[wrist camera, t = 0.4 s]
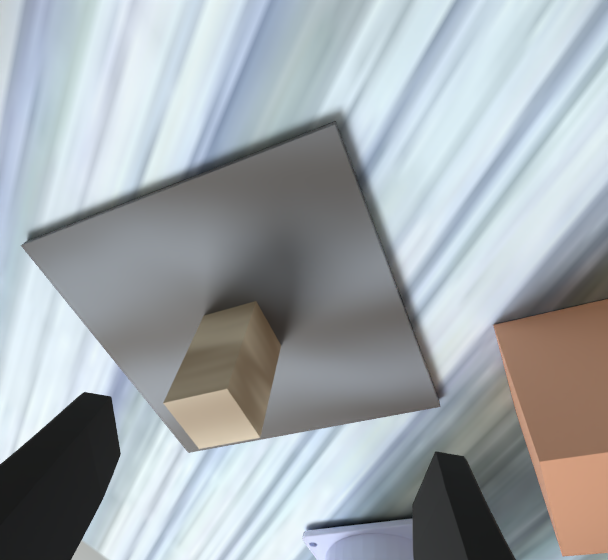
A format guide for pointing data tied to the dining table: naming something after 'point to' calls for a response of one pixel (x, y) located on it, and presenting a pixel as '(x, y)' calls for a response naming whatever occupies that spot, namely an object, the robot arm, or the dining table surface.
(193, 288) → the post block
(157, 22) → the dining table surface
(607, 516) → the block
